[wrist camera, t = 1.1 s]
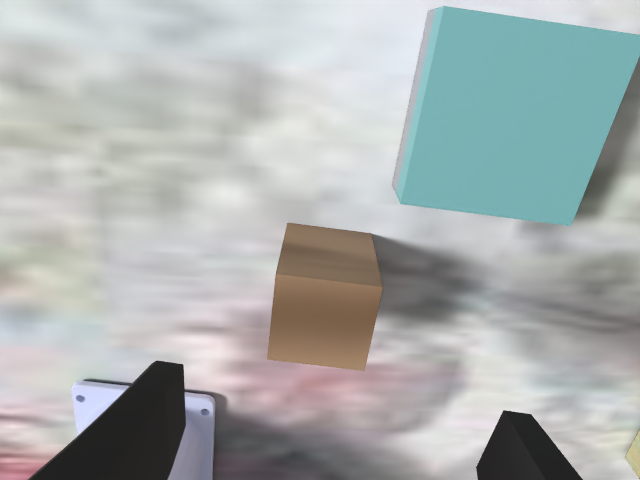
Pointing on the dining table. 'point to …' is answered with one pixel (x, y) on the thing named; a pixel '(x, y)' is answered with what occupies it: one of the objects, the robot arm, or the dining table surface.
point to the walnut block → (325, 297)
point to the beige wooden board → (634, 455)
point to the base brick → (509, 114)
